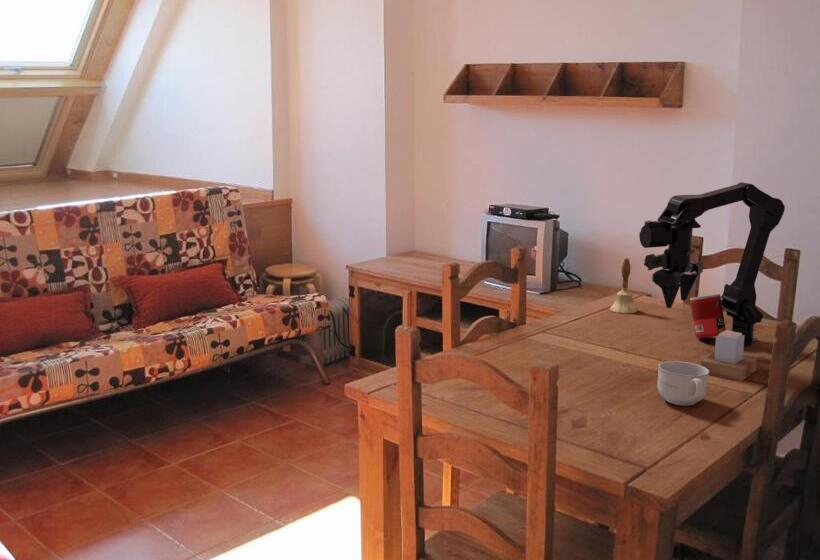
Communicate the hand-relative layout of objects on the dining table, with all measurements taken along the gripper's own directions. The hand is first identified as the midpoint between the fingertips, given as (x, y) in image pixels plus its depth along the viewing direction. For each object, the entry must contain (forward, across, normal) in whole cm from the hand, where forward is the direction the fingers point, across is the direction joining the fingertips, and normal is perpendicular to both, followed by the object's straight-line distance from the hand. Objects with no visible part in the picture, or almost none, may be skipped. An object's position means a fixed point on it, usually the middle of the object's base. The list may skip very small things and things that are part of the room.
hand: (676, 304), depth 236 cm
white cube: (+9, +9, +18) cm, 22 cm away
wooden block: (+12, +9, +18) cm, 24 cm away
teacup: (+12, +36, +18) cm, 42 cm away
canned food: (+11, -12, +5) cm, 17 cm away
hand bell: (+12, -26, -27) cm, 39 cm away
